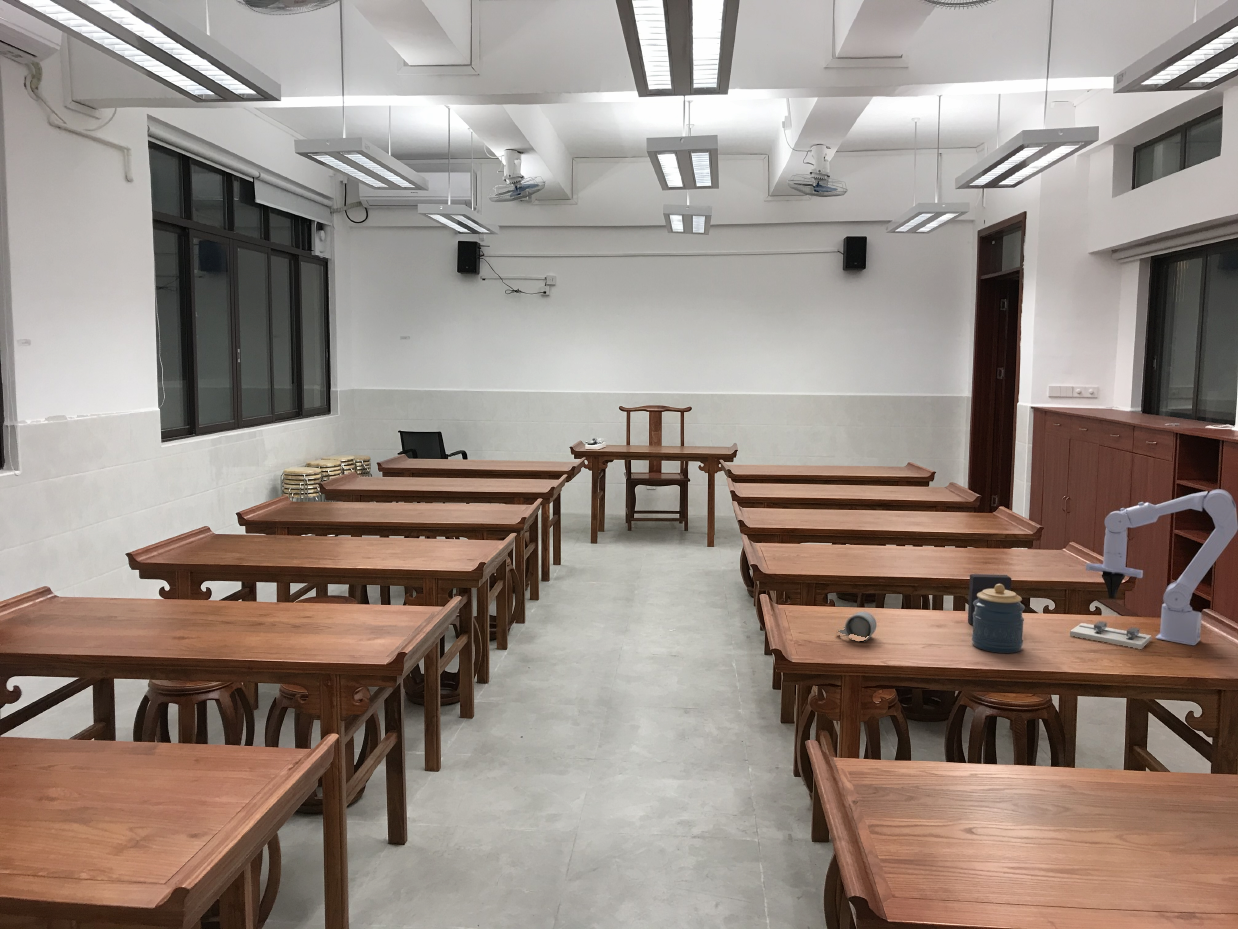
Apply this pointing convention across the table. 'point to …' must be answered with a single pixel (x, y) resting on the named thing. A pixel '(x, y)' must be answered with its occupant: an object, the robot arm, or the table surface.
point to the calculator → (981, 583)
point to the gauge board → (1110, 636)
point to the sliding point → (1100, 626)
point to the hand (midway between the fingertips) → (1112, 598)
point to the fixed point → (1132, 632)
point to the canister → (998, 621)
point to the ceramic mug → (860, 625)
